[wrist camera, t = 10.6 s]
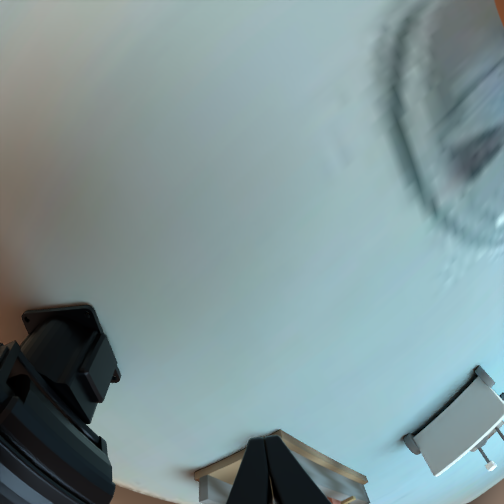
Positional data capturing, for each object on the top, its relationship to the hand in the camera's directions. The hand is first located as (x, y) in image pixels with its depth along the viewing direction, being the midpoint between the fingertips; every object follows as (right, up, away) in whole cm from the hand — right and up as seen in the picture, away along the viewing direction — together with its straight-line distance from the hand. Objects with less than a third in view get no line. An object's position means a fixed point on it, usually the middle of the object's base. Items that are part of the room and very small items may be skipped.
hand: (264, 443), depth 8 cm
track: (+4, -20, +20) cm, 29 cm away
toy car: (+27, -15, +22) cm, 38 cm away
